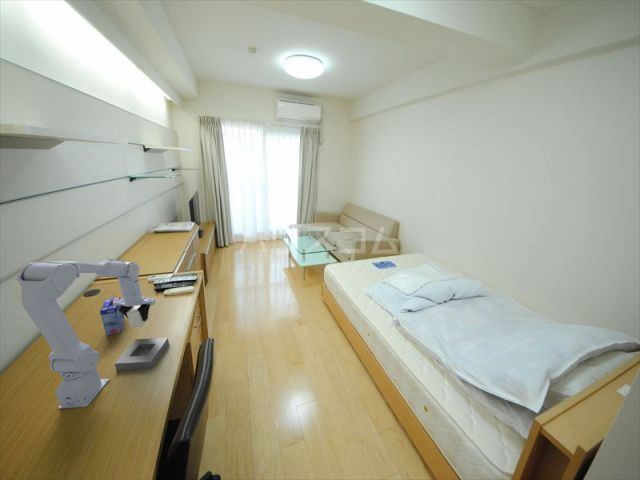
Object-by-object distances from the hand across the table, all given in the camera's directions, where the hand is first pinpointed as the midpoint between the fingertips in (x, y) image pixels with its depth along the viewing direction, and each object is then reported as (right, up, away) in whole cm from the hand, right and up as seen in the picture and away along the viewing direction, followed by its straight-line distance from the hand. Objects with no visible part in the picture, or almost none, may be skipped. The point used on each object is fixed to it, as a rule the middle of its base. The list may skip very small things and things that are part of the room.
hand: (139, 320), depth 99 cm
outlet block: (+7, -11, -7) cm, 15 cm away
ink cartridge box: (-16, -6, +8) cm, 19 cm away
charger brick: (0, -2, +1) cm, 2 cm away
